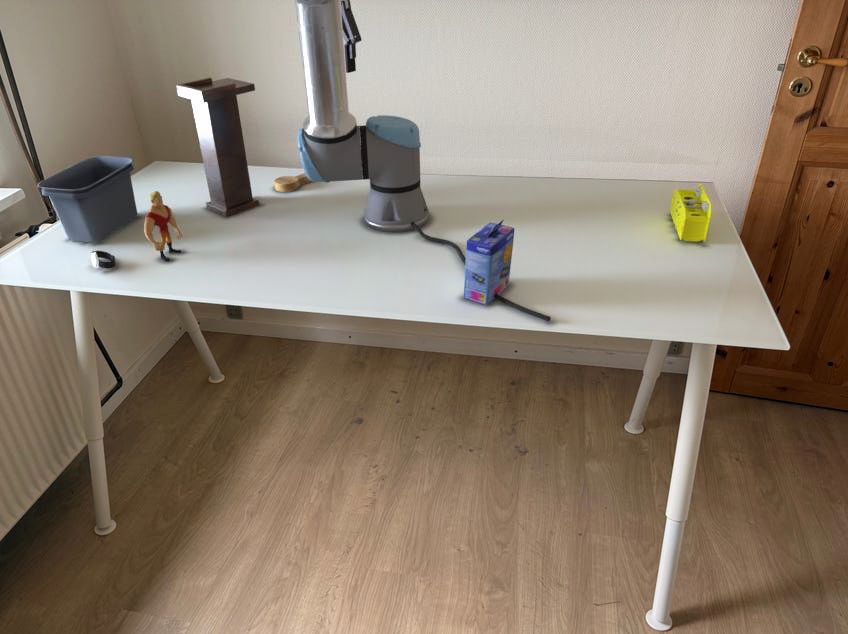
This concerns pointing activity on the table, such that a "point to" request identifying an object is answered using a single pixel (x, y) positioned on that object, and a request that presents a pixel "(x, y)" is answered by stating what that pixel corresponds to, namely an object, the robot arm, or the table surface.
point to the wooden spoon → (290, 182)
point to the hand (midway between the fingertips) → (333, 68)
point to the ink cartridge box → (488, 262)
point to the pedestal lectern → (221, 142)
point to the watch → (102, 264)
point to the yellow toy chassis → (691, 213)
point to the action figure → (160, 224)
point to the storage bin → (93, 197)
